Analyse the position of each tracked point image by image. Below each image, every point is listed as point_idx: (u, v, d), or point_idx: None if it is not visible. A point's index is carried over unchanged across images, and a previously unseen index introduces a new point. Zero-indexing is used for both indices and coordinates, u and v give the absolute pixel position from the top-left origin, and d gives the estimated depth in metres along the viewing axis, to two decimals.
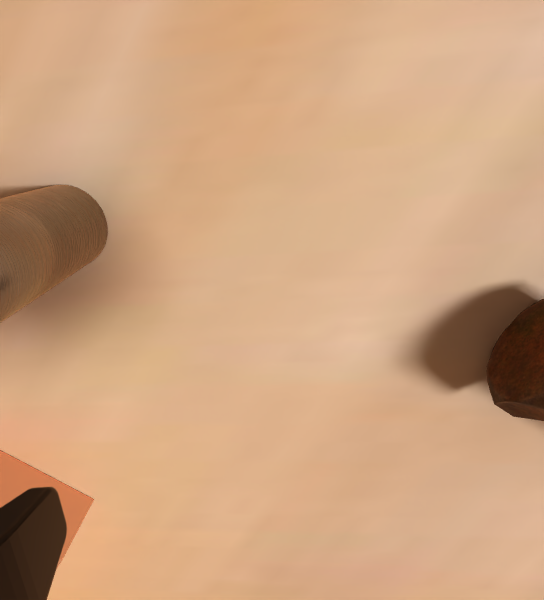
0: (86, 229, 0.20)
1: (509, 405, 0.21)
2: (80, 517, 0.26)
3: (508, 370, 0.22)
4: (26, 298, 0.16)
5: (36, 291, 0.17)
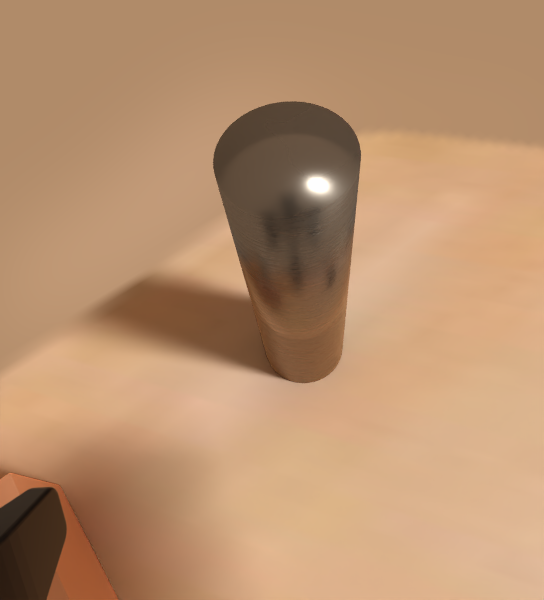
0: None
1: None
2: None
3: None
4: (330, 310, 0.17)
5: (330, 317, 0.18)
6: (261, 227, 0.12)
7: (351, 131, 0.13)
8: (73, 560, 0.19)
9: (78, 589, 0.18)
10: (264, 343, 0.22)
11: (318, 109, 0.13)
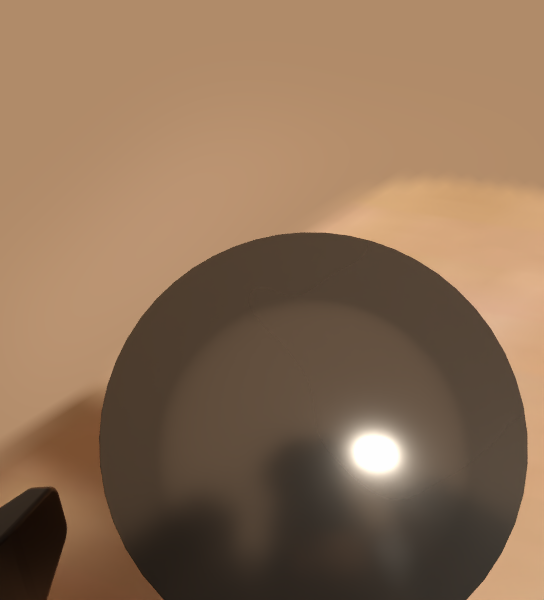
0: None
1: None
2: None
3: None
4: None
5: None
6: None
7: (484, 327, 0.05)
8: None
9: None
10: None
11: (388, 258, 0.05)
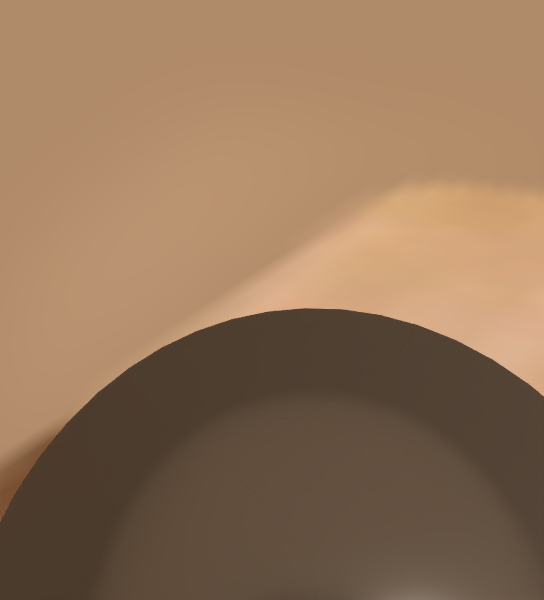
0: None
1: None
2: None
3: None
4: None
5: None
6: None
7: None
8: None
9: None
10: None
11: (445, 355, 0.03)
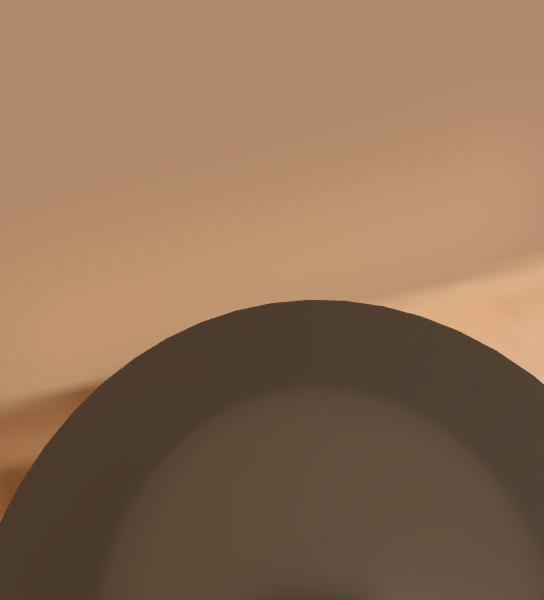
0: None
1: None
2: None
3: None
4: None
5: None
6: None
7: None
8: None
9: None
10: None
11: (450, 347, 0.03)
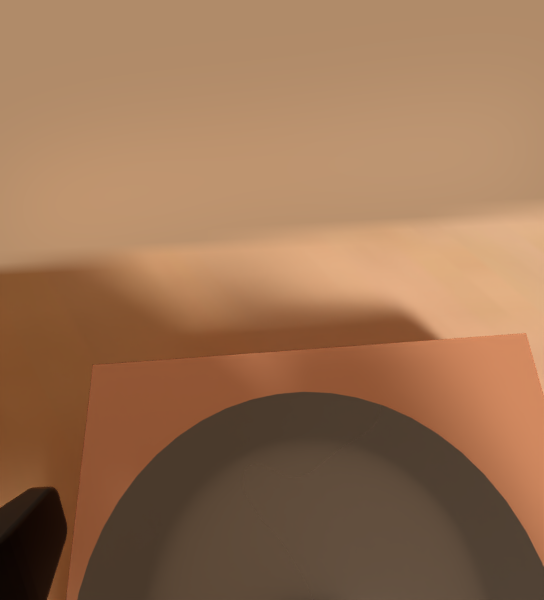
0: None
1: None
2: None
3: None
4: None
5: None
6: None
7: (517, 523, 0.04)
8: None
9: None
10: None
11: (404, 429, 0.04)
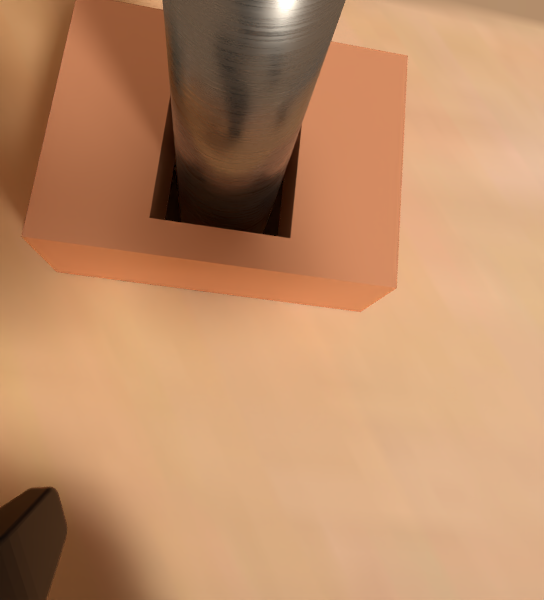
0: None
1: None
2: None
3: None
4: (268, 166, 0.14)
5: (265, 176, 0.15)
6: (207, 4, 0.09)
7: None
8: None
9: None
10: (180, 195, 0.18)
11: None
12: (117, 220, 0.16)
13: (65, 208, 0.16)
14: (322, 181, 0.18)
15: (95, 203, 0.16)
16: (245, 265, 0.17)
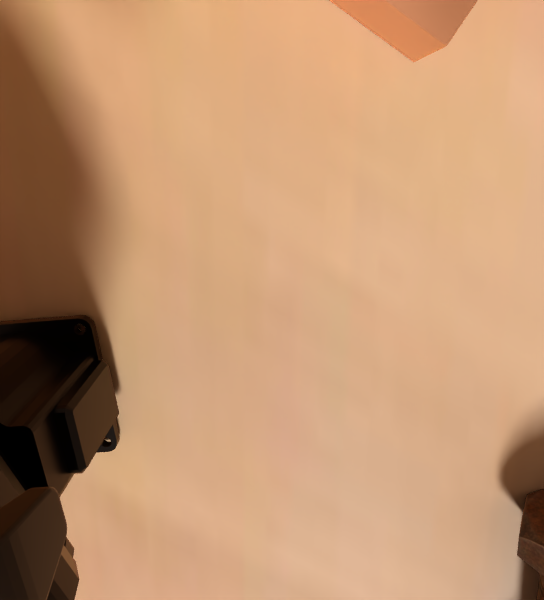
0: None
1: (540, 550, 0.21)
2: None
3: None
4: None
5: None
6: None
7: None
8: None
9: None
10: None
11: None
12: None
13: None
14: None
15: None
16: None
